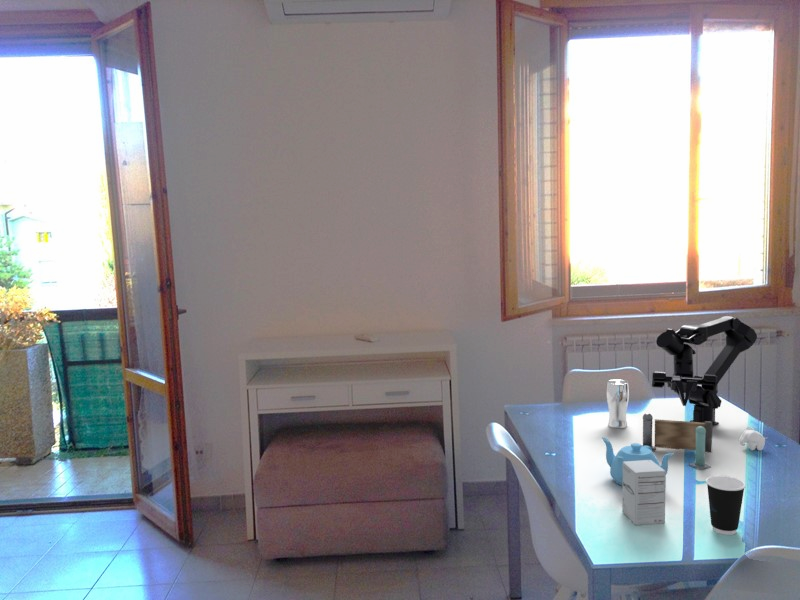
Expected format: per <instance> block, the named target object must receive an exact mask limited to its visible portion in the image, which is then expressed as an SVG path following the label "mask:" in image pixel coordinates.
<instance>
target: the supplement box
mask: <svg viewBox="0 0 800 600" xmlns="http://www.w3.org/2000/svg"><path fill="white" fill-rule="evenodd" d="M660 466H661V465H660ZM660 466H659V465H657V464H656V463H654V462H653V461H652V460H639V461H625V462H623V486H622V494H621V495H622V502H621V504H622V505H621V508H622V509H621V510H622V511H621V512H622V513H623V514H624V515H625V516H626V517H628V519H629V520H630V521H631V522H632V523H633V524H634V525H635V526H646V525H647V526H648V525H657V524H666V487H667V486H666V483H667V482H666V481H667V480H666V478H667V477H666V475H667V474H666V471H665V470H664V469H662V468H661V467H660Z"/></svg>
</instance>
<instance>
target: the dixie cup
mask: <svg viewBox="0 0 800 600" xmlns="http://www.w3.org/2000/svg"><path fill="white" fill-rule="evenodd" d="M705 483H706V486H707V496H708V507H709V516H710V525H711V527H712V530H713V532H715V533H716V534H720V535H723V536H732V535H735V534H737V531H738V529H739V523H740V516H741V511H742V505H743V499H744V498H743V497H744V491H745V488H746V483H745V482H744V481H743V480H741V479H738V478H736V477H731V476H727V475H712V476H709V477H707V478H706V479H705Z"/></svg>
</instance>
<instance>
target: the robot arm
mask: <svg viewBox="0 0 800 600" xmlns="http://www.w3.org/2000/svg"><path fill="white" fill-rule="evenodd" d="M721 333H723V334H724V335H725V346H724V347H723V348H722V350H721V351H720V352H719V354H718V355H717V356H716V358H715V359H714V360H713V362H712V363H711V365H710V366H709V367H708V369H706V371H705V373H704V374H702V375H694V360H693V359H694V358H693V355H696V354H697V353H696V350H695V349H693V347H692V346H691V345H696V346H700V345H702V344H704V343H705V342H708V338H710V337H712V336H715V335H718V334H721ZM757 339H758V335H757V333H756V331H755V329H754V328H752V327H751V326H749V325H748V324H746V323H744V322H742V321H741V320H740V319H739V318H737V317H735V316H730V315H729V316H728V315H725V316H722V317H720V318H717V319H713V320H711V321H708V322H705V323H701V324H685V325H683V324H682V326H681V327H680V328H679V329H678V330H676V331H675V330H674V329H673V328H667V329H666V331H664V332H662V333H661V334H659V336H657V338H656V341H655V342H656V345H657V346H658V347H659V348H660V349H661V350H662V351H664V352H666V353H667V354H668V355H670V356H673V357H672V358H673V374H672V375H671V376H667V372H666V371H653V372H652V373H651V374H652V375H651V387H652V388H661V389H663V387H665V383H667V387H668V388H670V390H671V391H673V392H674V393H676V394H677V395H678V398H679V400H680V402H681V404H682V407H687V405H688V403H689V404H690V405H691V404H692V405H693V411H692V412H693V413H692V415H693V417H692V419H690V420H689V422H701V423H705V421H711V422H712V426H716V425H719V424H720V422H718V421H716V410H718V409H719V408H720V407H721V405H722V399H721V398H720V396H718V391H719V390H718V384H719V383H720V381H721V380H722V379H723V377H724V375H725V374H726V373H727V372H728V370H729V369H730V368H731V366H732V365H733V363H734V362H735V361H736V359H737V358H738V356H739V355H740V354H741V353H743V352H744V351H747V350H749V349H750V348H752V346H753V345H754V344H755V343H756V341H757Z"/></svg>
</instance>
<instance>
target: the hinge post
mask: <svg viewBox="0 0 800 600" xmlns="http://www.w3.org/2000/svg"><path fill="white" fill-rule="evenodd" d="M653 419H654V417H653V415H652V414H651V413H649V412H646V413H643V415H642V444H641V445H642V446H641V447H643V446H649V447H651V448H652V451H654V452H656V451H657V447H655V445H654V446H653Z"/></svg>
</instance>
